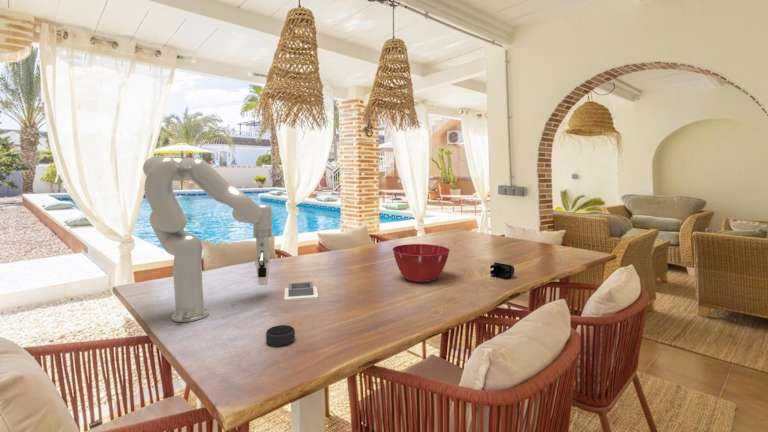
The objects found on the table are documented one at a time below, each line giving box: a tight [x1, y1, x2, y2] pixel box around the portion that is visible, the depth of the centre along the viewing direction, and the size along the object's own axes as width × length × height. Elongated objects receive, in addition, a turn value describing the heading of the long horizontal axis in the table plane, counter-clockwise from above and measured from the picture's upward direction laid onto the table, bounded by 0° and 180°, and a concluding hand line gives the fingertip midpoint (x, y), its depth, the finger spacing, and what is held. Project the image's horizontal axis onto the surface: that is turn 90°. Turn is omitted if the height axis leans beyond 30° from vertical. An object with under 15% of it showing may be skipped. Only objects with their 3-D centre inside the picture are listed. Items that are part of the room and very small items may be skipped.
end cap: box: [489, 262, 515, 281], centre depth 204 cm, size 10×7×7 cm
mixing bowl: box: [392, 243, 451, 284], centre depth 201 cm, size 28×28×16 cm
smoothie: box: [254, 253, 271, 286], centre depth 173 cm, size 6×6×14 cm
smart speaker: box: [265, 324, 296, 347], centre depth 129 cm, size 9×9×4 cm
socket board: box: [283, 281, 319, 302], centre depth 178 cm, size 16×14×4 cm
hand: (262, 274), depth 173 cm, fingers closed on smoothie, 6 cm apart
